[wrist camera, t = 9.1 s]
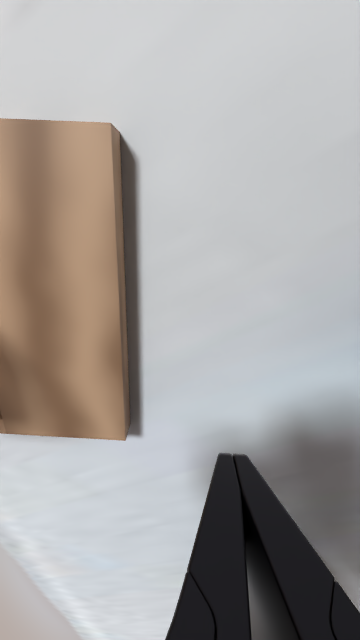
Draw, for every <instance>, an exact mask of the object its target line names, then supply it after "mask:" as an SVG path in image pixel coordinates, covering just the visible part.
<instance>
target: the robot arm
mask: <svg viewBox="0 0 360 640" xmlns="http://www.w3.org/2000/svg"><path fill="white" fill-rule="evenodd" d="M165 640H360V613H359V611H358V610H357V609H356V607H355V606H354V604H353V603H352V602H351V600H350V599H349V598H348V596H347V595H346V593H345V592H344V591H343V589H342V588H341V586H340V585H339V584H338V582H336V581H335V582H334V577H333V575H332V574H331V573H330V571H329V570H328V568H327V567H326V566H325V564H324V563H323V561H322V560H321V559H320V557H319V556H318V554H317V553H316V552H315V550H314V549H313V547H312V546H311V545H310V543H309V542H308V540H307V539H306V538H305V536H304V535H303V533H302V532H301V531H300V529H299V528H298V526H297V525H296V524H295V522H294V521H293V519H292V518H291V517H290V515H289V514H288V512H287V511H286V510H285V508H284V507H283V505H282V504H281V503H280V501H279V500H278V498H277V497H276V496H275V494H274V493H273V491H272V490H271V489H270V487H269V486H268V484H267V483H266V482H265V480H264V479H263V477H262V476H261V475H260V473H259V472H258V470H257V469H256V468H255V466H254V465H253V463H252V462H251V461H250V459H249V458H248V456H247V455H245V454H233V455H232V454H229V453H219V454H218V457H217V461H216V465H215V469H214V472H213V476H212V480H211V483H210V487H209V491H208V494H207V498H206V502H205V505H204V509H203V513H202V517H201V520H200V524H199V528H198V531H197V535H196V539H195V542H194V546H193V550H192V553H191V557H190V561H189V564H188V568H187V573H186V575H185V579H184V582H183V586H182V590H181V593H180V596H179V600H178V603H177V606H176V610H175V613H174V616H173V619H172V622H171V625H170V628H169V630H168V633H167V636H166V639H165Z"/></svg>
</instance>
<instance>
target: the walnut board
mask: <svg viewBox="0 0 360 640" xmlns="http://www.w3.org/2000/svg"><path fill="white" fill-rule="evenodd" d="M129 426H130V401H129V373H128V346H127V318H126V291H125V263H124V235H123V208H122V180H121V153H120V132H119V131H118V130H117V129H116V128H115V127H114V126H113V125H112V124H111V123H101V122H76V121H51V120H26V119H1V118H0V433H4V434H21V435H38V436H55V437H73V438H90V439H107V440H124V441H125V440H126V437H127V433H128V430H129Z"/></svg>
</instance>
